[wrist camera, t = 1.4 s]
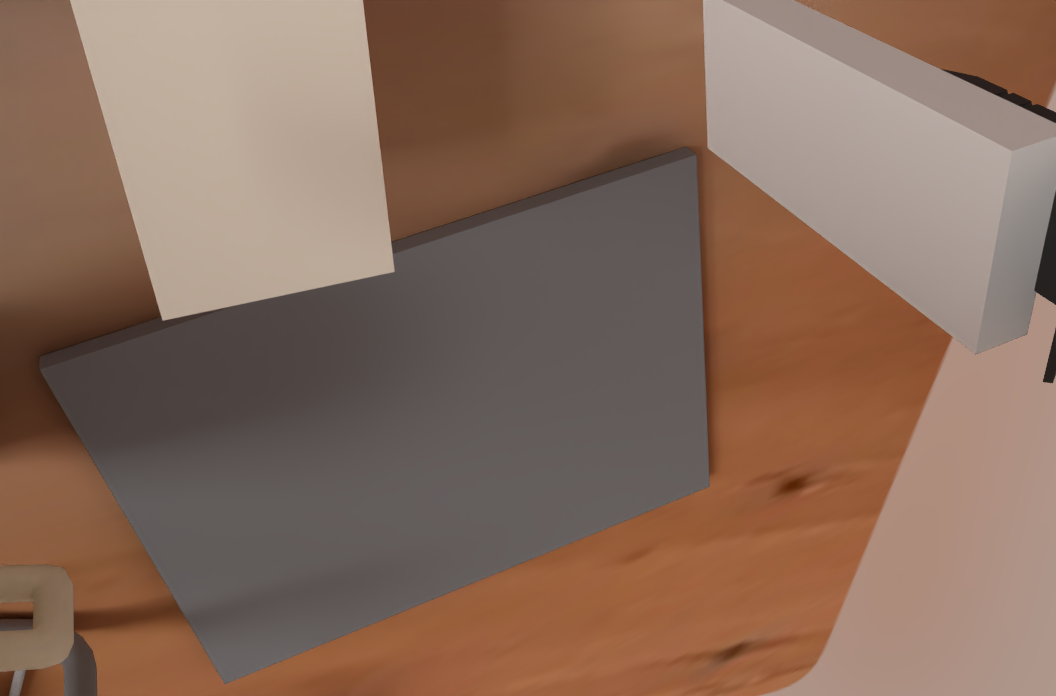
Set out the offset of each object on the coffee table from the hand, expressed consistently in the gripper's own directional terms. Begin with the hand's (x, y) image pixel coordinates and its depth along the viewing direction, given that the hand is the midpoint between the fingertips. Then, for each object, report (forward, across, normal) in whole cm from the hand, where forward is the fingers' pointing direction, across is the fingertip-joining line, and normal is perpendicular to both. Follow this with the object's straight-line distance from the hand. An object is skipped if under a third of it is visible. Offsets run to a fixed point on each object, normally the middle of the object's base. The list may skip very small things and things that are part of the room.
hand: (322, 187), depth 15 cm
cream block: (+17, 0, 0) cm, 17 cm away
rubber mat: (+17, +2, -20) cm, 26 cm away
